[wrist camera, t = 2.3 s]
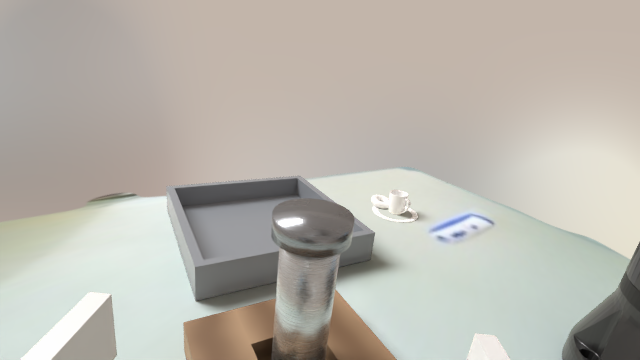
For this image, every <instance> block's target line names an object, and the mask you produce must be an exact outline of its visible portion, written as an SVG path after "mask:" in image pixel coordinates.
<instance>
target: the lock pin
mask: <svg viewBox="0 0 640 360" xmlns="http://www.w3.org/2000/svg"><path fill="white" fill-rule="evenodd" d="M354 221H355V220H354V216H353V214H352V213H351V212H350V211H349V210H348V209H346V208H345V207H343V206H341V205H338V204H336V203H333V202H330V201H326V200H320V199H311V198H300V199H292V200H287V201H284V202H282V203H280V204H278V205H277V206H275V208H274V209H273V212H272V226H271V237H272V240H273V241H274V243H275V244H276V245H277V246H279V247H280V248H279V261H278V275H277V289H276V302H275V316H274V330H273V343H272V357H271V360H325V358H326V351H327V344H328V337H329V330H330V323H331V316H332V309H333V301H334V294H335V287H336V280H337V273H338V266H339V259H340V254H341V253H342V252H344V251H346V250H347V249H348V248H349V247H350V245H351V241H352V234H353V228H354Z"/></svg>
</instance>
